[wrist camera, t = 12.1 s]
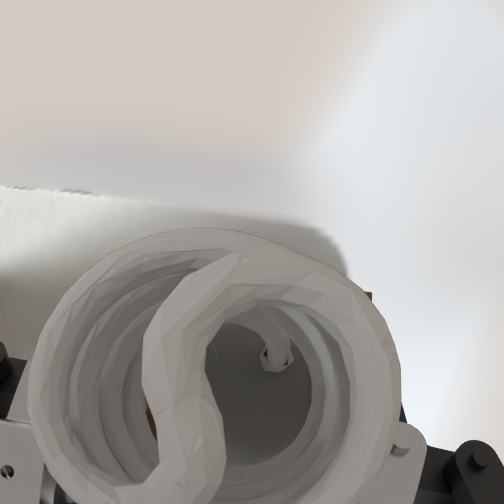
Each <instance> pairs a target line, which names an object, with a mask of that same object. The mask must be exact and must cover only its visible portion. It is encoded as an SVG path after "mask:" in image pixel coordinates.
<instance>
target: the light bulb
mask: <svg viewBox="0 0 504 504" xmlns="http://www.w3.org/2000/svg"><path fill="white" fill-rule="evenodd" d="M145 396H146V399H147V402H148V405H149V407H150V410H151V413H152V416H153V418H154V421H155V425H156V430H157V441H158V443H157V441H156V439H155V438H154V436H153V434H152V432H151V429H150V426H149V423H148V420H147V417H146V412H145V399H144V397H145ZM27 409H28V413H29V418H30V422H31V426H32V430H33V434H34V437H35V440H36V443H37V445H38V448H39V450H40V453H41V455H42V457H43V460H44V462H45V464H46V467H47V469H48V471H49V473H50V474H51V475H52V476H53V478H54V479H55V480H56V482H57V483H58V484H59V485H60V486H61V488H62V489H63V490H64V491H65V493H66V494H67V495H68V496H69V497H70V498H71V499H72V500H73V501H74V502H76V503H77V504H358V503H359V502H360V501H361V500H362V498H363V497H364V496H365V495H366V494H367V492H368V491H369V490H370V488H371V486H372V485H373V483H374V482H375V480H376V479H377V477H378V475H379V474H380V472H381V470H382V469H383V467H384V465H385V464H386V462H387V460H388V458H389V455H390V452H391V449H392V446H393V443H394V440H395V437H396V433H397V428H398V422H399V417H400V410H401V368H400V362H399V359H398V355H397V352H396V348H395V344H394V341H393V339H392V336H391V334H390V331H389V329H388V326H387V324H386V322H385V319H384V318H383V317H382V315H381V314H380V313H379V311H378V310H377V308H376V307H375V306H374V304H373V303H372V302H371V300H370V299H369V298H368V296H367V295H366V293H365V292H364V291H363V290H362V289H361V288H360V287H359V286H357V285H356V284H355V283H353V282H352V281H351V280H349V279H348V278H347V277H345V276H344V275H343V274H341V273H340V272H339V271H337V270H336V269H335V268H333V267H331V266H329V265H326V264H324V263H322V262H319V261H317V260H314V259H312V258H309V257H307V256H305V255H302V254H298V253H296V252H294V251H292V250H291V249H289V248H288V247H286V246H283V245H280V244H277V243H275V242H272V241H269V240H266V239H263V238H261V237H257V236H254V235H250V234H247V233H243V232H240V231H231V230H223V229H214V228H195V229H180V230H175V231H170V232H165V233H160V234H156V235H152V236H148V237H145V238H143V239H140V240H138V241H136V242H134V243H131V244H129V245H127V246H125V247H123V248H120V249H118V250H116V251H114V252H112V253H110V254H109V255H107V256H106V257H105V258H103V259H102V260H101V261H99V262H98V263H97V264H95V265H94V266H93V267H91V268H90V269H89V270H87V271H86V272H85V273H84V274H83V275H82V276H81V277H80V278H79V279H78V280H77V281H76V282H75V283H74V284H73V285H72V286H71V287H70V288H69V289H68V290H67V291H66V292H65V294H64V295H63V297H62V298H61V300H60V301H59V303H58V304H57V306H56V307H55V309H54V310H53V312H52V314H51V315H50V317H49V319H48V320H47V322H46V324H45V325H44V327H43V329H42V331H41V333H40V336H39V339H38V343H37V346H36V349H35V352H34V356H33V359H32V363H31V366H30V371H29V379H28V400H27Z"/></svg>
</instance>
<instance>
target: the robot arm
mask: <svg viewBox="0 0 504 504" xmlns="http://www.w3.org/2000/svg"><path fill="white" fill-rule="evenodd" d="M33 356H34V355H33ZM33 356H32V357H31V358H30V359H29V360H28V361H26V360H21V359H15V358H10V357H9V356H8V354H7V351H6V348H5V346H4V344H3V343H2V342H0V504H77V503H76V502H74V501H73V500H72V499H71V498H70V497H69V496H68V495H67V494H66V493H65V491H64V490H63V489H62V488H61V486H60V485H59V484H58V483H57V482H56V480H55V479H54V478H53V476H52V475H51V474H50V473H49V471H48V469H47V467H46V464H45V462H44V460H43V457H42V455H41V453H40V450H39V448H38V445H37V443H36V440H35V437H34V434H33V430H32V426H31V422H30V418H29V413H28V409H27V400H28V379H29V371H30V366H31V363H32V359H33ZM358 504H504V466H503V464H502V462H501V461H500V459H499V457H498V455H497V454H496V452H495V451H494V450H493V448H492V447H490V446H489V445H488V444H486V443H484V442H482V441H478V440H470V441H467V442H464V443H463V444H462V445H461V446H460V447H459V448H458V449H457V450H456V451H455V452H452V451H448V450H443V449H439V448H435V447H431V446H428V445H427V444H426V440H425V438H424V436H423V435H422V433H420V431H419V430H418V429H416V428H415V427H413V426H412V425H410V424H407V421H406V417H405V413H404V409H403V406H402V402H401V410H400V417H399V422H398V428H397V433H396V437H395V440H394V443H393V446H392V449H391V452H390V455H389V458H388V460H387V462H386V464H385V465H384V467H383V469H382V470H381V472H380V474H379V475H378V477H377V479H376V480H375V482H374V483H373V485H372V486H371V488H370V490H369V491H368V492H367V494H366V495H365V496H364V497H363V498H362V500H361V501H360V502H359V503H358Z"/></svg>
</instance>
